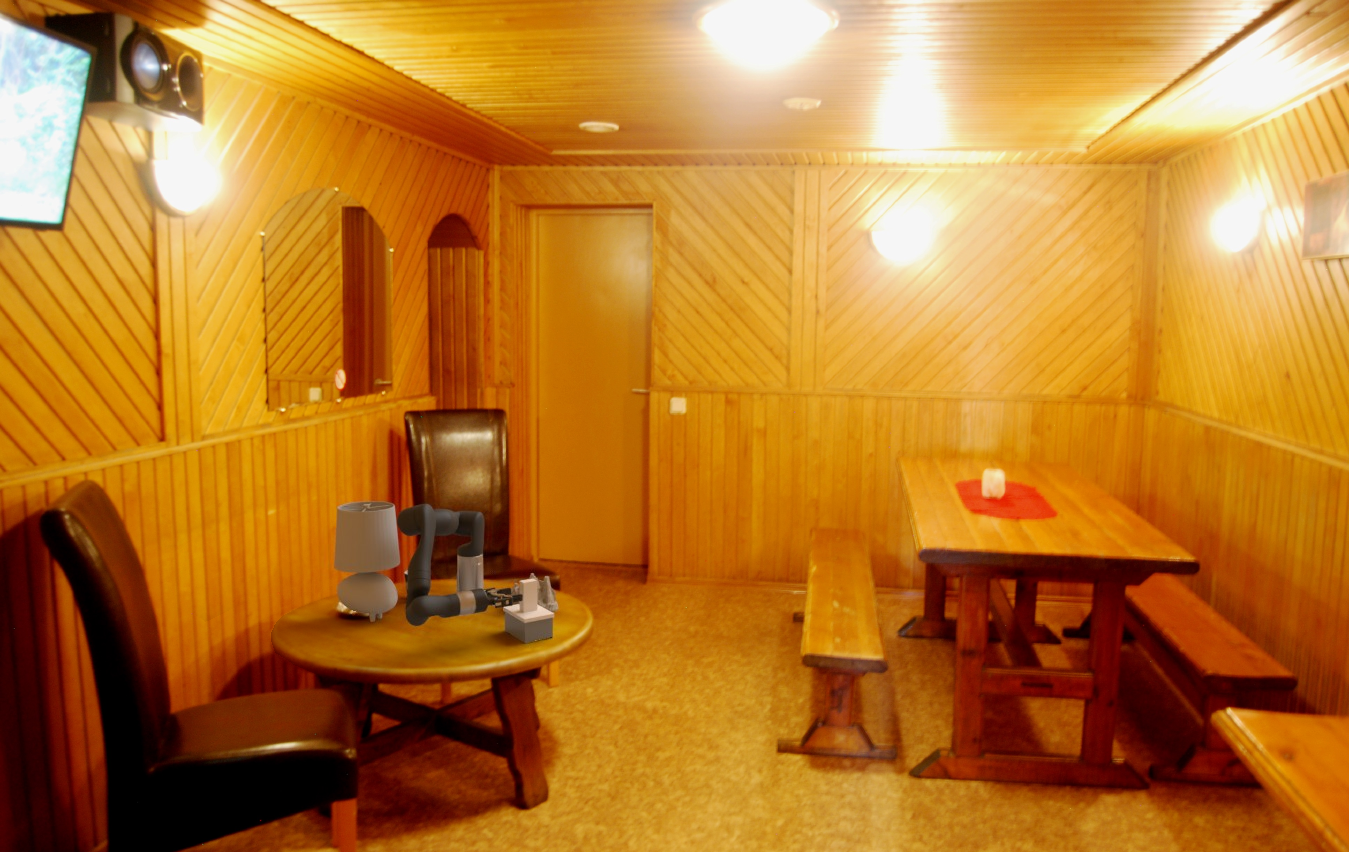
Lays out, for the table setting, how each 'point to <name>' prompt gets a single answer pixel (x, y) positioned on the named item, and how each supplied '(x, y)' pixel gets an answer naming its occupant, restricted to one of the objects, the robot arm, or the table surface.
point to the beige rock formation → (541, 594)
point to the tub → (528, 628)
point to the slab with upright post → (528, 604)
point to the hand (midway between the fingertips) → (516, 593)
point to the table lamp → (367, 556)
